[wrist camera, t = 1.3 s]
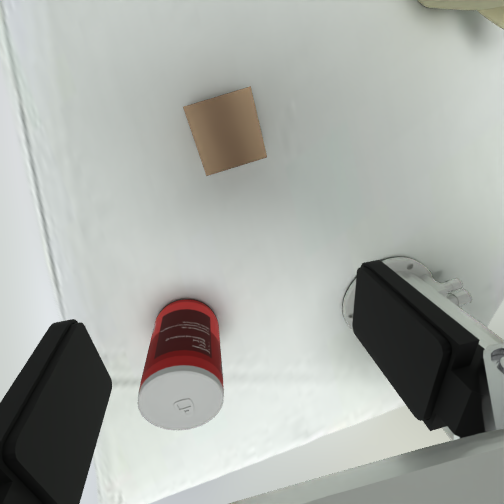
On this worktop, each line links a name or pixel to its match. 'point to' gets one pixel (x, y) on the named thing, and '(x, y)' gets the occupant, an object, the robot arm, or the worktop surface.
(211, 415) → the canned food
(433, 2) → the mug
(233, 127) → the walnut block
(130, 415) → the worktop surface
